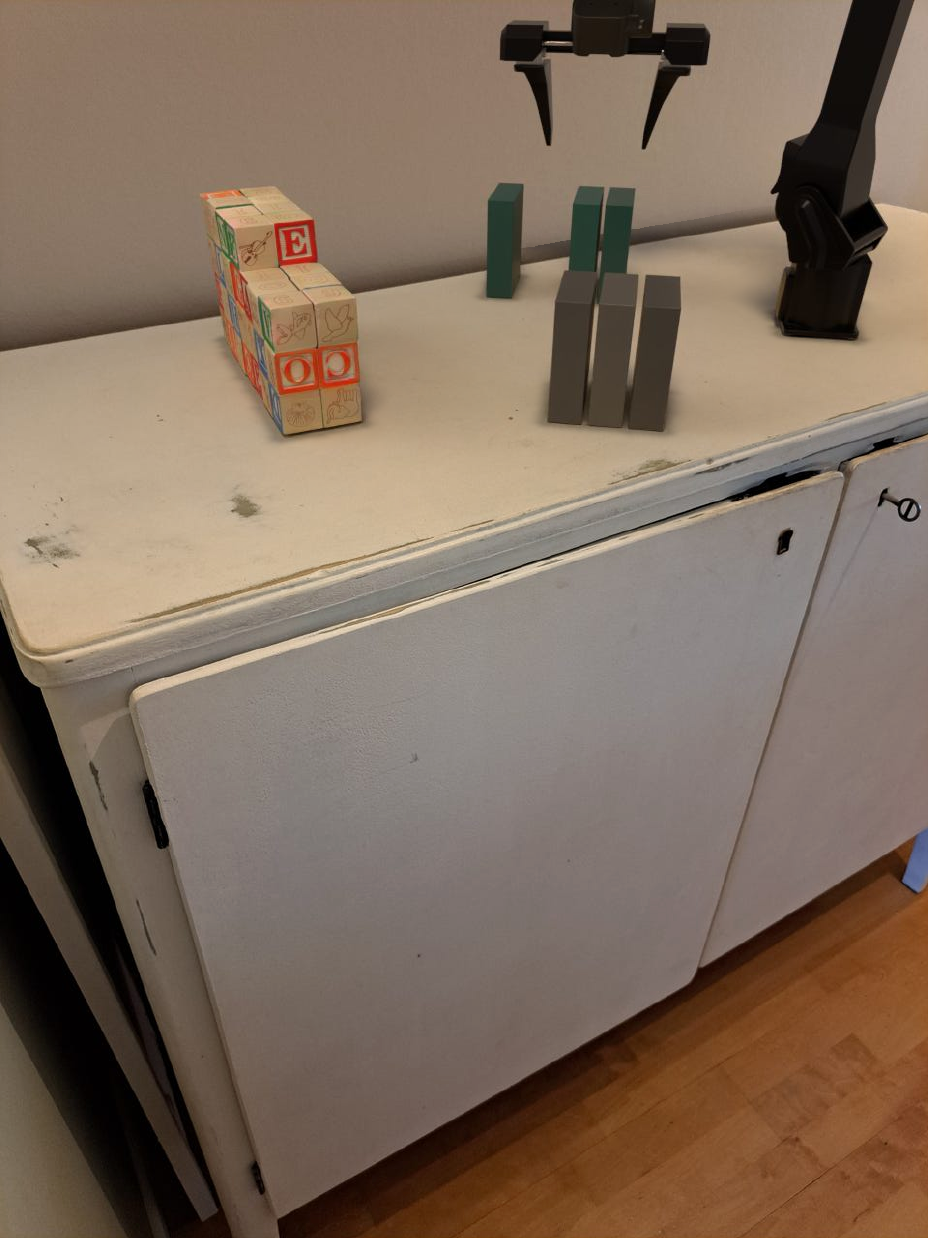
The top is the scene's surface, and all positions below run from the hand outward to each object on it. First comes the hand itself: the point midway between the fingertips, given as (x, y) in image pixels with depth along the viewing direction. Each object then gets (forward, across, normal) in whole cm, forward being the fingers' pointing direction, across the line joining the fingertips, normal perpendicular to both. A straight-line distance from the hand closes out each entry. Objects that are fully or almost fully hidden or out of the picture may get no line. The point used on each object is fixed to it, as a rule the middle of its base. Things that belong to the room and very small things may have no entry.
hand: (595, 146), depth 88 cm
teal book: (+12, -8, -6) cm, 16 cm away
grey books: (+12, +4, -33) cm, 35 cm away
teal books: (+12, +2, -6) cm, 14 cm away
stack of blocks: (+12, -22, -32) cm, 41 cm away
